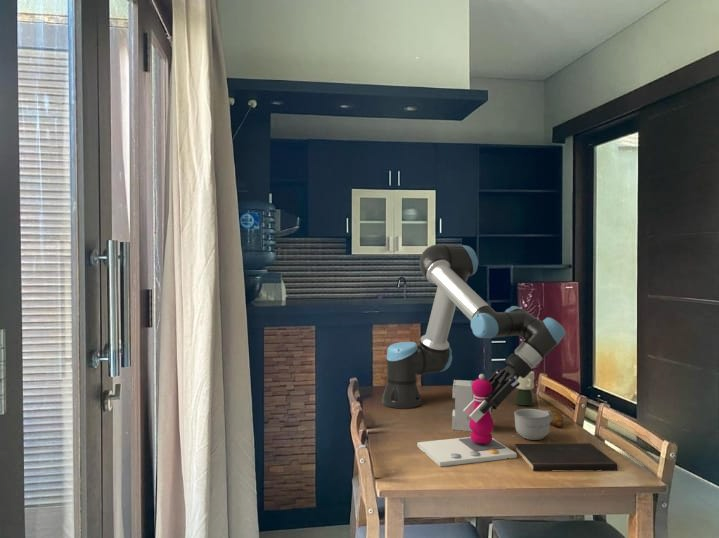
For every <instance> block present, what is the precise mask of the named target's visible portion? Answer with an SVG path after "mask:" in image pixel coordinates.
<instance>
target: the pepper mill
mask: <svg viewBox="0 0 719 538" xmlns="http://www.w3.org/2000/svg"><path fill="white" fill-rule="evenodd" d="M485 378H486V375H485V374H484V373H480V374H479V375H478V378H477V379H475V380H473V381H474V382H473V383H472V391H473V393H474V395H473V397H474V398H473V400H475V407H474V410H475V409H476V408H477V407H478V406H479V405H480V404H481V403H482V402H483V401H484V400H485V398H487V399H488V397H489V396H490V395H489V394H490V393H491V392H492V385H491V383H490V382H489V381H488V379H485ZM494 425H495V424H494V420H493V418H492V414H491V415H490V412H489V410H488V411H487V412H486V413H485V414H484V415H483V416H482V417H481V418H480V419H479V420H478V421H477V422H475V421H474V420H473V419H472V418H470V422H469V427H470V429H471V430H472V431H471V432H470V437H471V440H472V441H473V442H476V443H482V444H483V443H490V442H492V438H493V434H492V432H493V431H494V429H495V427H494Z"/></svg>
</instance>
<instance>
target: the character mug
mask: <svg viewBox="0 0 719 538" xmlns="http://www.w3.org/2000/svg"><path fill="white" fill-rule="evenodd" d="M534 380H535V372H534V371H533V370H531V372H530V373H529V374H528V375H527V376H526V377H525V378H521V377H519V378H518V380H517V381H518V382H519V383H520V385H519V386H518V387H516V388H515V389H517V392H516V393H517V394H516V398H515V399H516V400H515V404H516V405H519V406H525V407H527V406H533V403H534V402H533V394H532V390H533V389H534V388H535V383H534V382H535V381H534Z"/></svg>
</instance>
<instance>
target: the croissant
mask: <svg viewBox="0 0 719 538" xmlns="http://www.w3.org/2000/svg"><path fill="white" fill-rule="evenodd" d="M548 411H551V412H552V415H553V418H552V421H551V422H550V423H549V425H552V426H553V427H556V428H562V427H563V425H564V417H563V414H562V412H561V411H559V410H557V409H555V408H552V409H548Z"/></svg>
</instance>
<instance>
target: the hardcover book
mask: <svg viewBox="0 0 719 538" xmlns="http://www.w3.org/2000/svg"><path fill="white" fill-rule="evenodd" d="M514 446H515V452H516V453H518V454H519V455H520V457H521V456H522V457H521V458H523V460H524V461H525V462H526V464H527V465H528V464H529V465H528V466H529V467H530V469H532V471H533V472H553V471H552V470H593V471H595V472H596V471H597V470H602V471H601V472H604V471H612V472H613V471H615V472H617V471H618V469H619V468H618V467H619V466H618V463H617V462H615V461H614V460H613V459H612V458H610V457H609V456H608V455H606V454H605V453H604V452H603V451H601V450H599V449H598V448H597V447H596V446H594V445H593V444H592V443H589V442H588V443H585V442H584V443H583V442H582V443H579V442H577V443H574V442H573V443H571V442H569V443H566V442H565V443H514ZM593 471H592V472H593ZM597 472H598V471H597Z"/></svg>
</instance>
